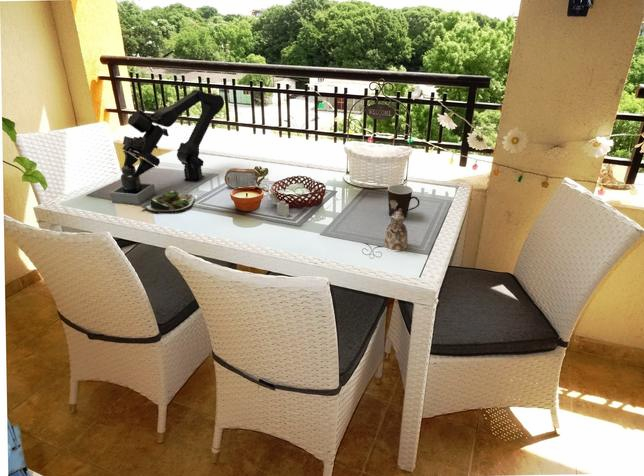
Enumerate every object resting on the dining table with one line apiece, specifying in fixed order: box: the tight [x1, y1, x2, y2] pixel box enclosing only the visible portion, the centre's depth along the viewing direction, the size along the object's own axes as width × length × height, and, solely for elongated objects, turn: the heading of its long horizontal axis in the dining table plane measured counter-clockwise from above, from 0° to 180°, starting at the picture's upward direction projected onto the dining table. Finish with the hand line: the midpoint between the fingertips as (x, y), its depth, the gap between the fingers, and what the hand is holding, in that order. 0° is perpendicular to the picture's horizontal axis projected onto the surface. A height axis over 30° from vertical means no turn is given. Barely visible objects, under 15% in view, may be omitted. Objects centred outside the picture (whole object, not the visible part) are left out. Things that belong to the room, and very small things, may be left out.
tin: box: [224, 167, 263, 190], centre depth 184 cm, size 15×3×8 cm, turn 84°
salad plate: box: [141, 189, 196, 215], centre depth 172 cm, size 19×18×5 cm
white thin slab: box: [268, 191, 290, 217], centre depth 162 cm, size 7×2×8 cm, turn 63°
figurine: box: [383, 209, 409, 251], centre depth 140 cm, size 7×7×12 cm
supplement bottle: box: [120, 164, 142, 194], centre depth 175 cm, size 7×7×12 cm
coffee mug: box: [387, 184, 421, 219], centre depth 159 cm, size 12×9×10 cm
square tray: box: [109, 182, 156, 206], centre depth 177 cm, size 12×12×4 cm
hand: (129, 173), depth 173 cm, fingers open, 9 cm apart
